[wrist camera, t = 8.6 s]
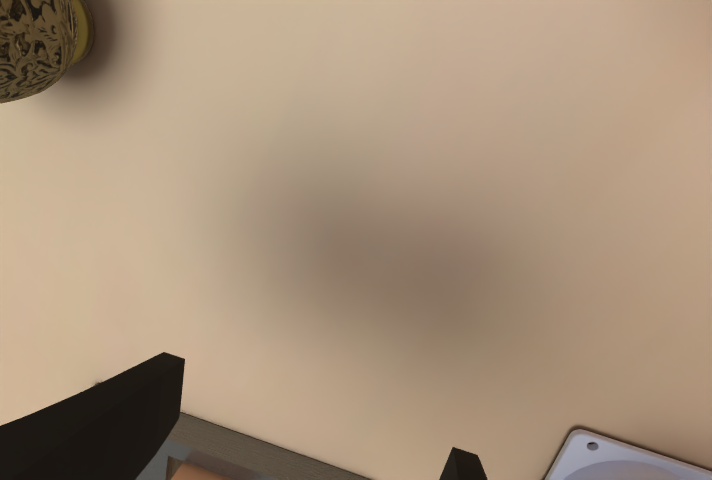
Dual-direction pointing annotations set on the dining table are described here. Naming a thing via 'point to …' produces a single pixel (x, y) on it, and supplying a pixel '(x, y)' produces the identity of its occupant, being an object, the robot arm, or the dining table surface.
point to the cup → (40, 43)
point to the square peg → (196, 473)
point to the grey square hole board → (233, 456)
